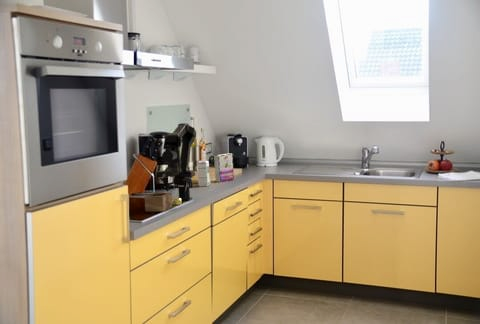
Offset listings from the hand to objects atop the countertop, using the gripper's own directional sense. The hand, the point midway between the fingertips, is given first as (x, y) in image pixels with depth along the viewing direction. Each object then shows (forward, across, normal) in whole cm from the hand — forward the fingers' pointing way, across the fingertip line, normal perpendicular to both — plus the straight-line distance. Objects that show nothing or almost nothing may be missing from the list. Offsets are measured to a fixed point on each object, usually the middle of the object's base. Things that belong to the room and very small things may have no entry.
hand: (176, 191), depth 292 cm
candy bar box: (+7, +1, +76) cm, 76 cm away
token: (+7, 0, 0) cm, 7 cm away
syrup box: (+7, -6, +58) cm, 59 cm away
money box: (+6, -4, -12) cm, 14 cm away
